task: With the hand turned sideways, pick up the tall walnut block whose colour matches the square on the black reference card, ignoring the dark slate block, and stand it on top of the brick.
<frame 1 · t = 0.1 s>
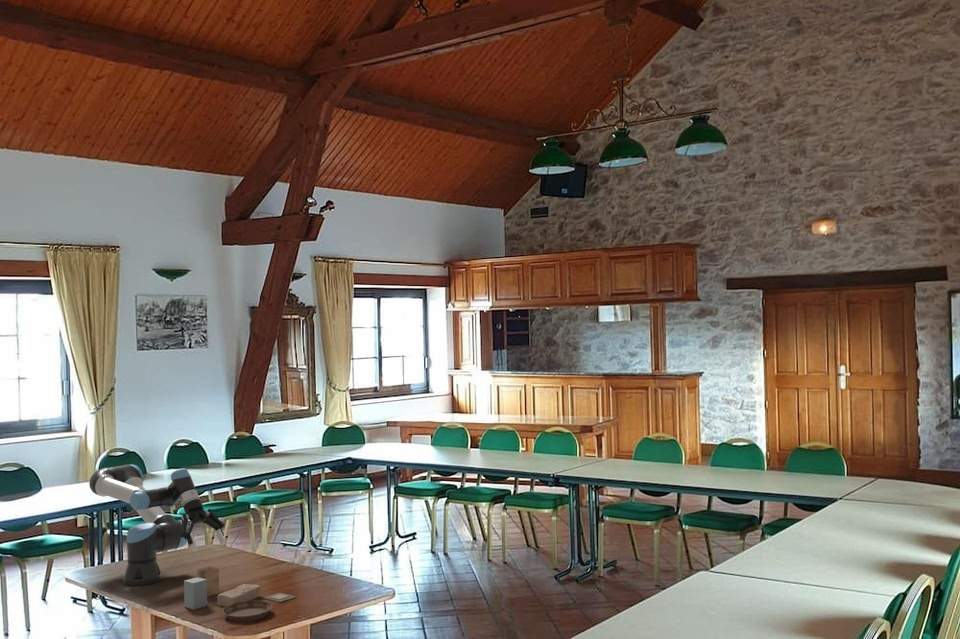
hand: (210, 547, 381), 15 cm above the table, fingers open, 13 cm apart
plant saucer: (247, 616, 338), on the table
brick: (239, 601, 357), on the table
walnut block: (208, 593, 367), on the table
slate block: (195, 606, 350), on the table
reference card: (279, 598, 359), on the table
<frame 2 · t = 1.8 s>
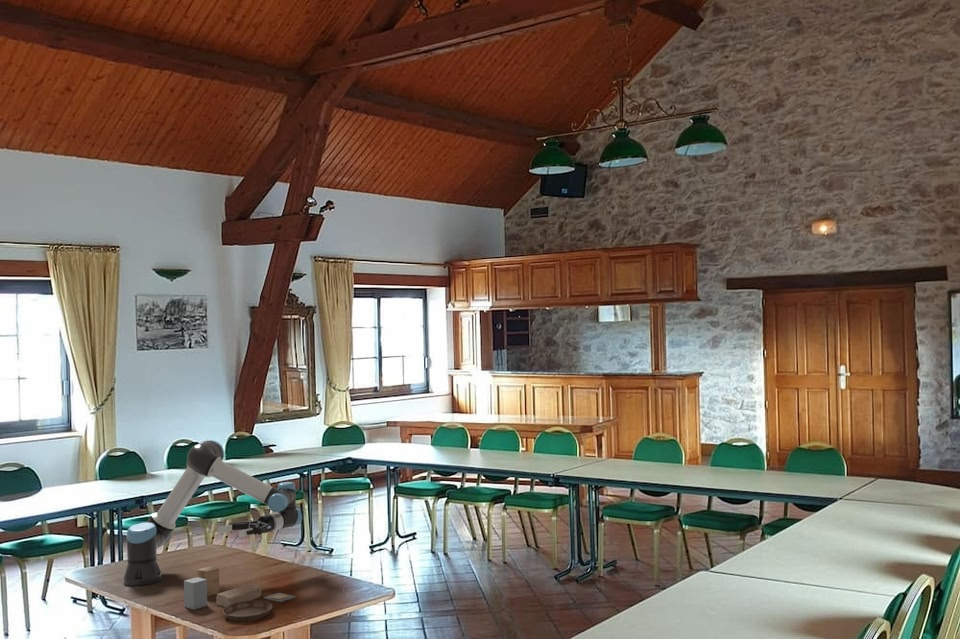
hand: (228, 532, 375), 22 cm above the table, fingers open, 13 cm apart
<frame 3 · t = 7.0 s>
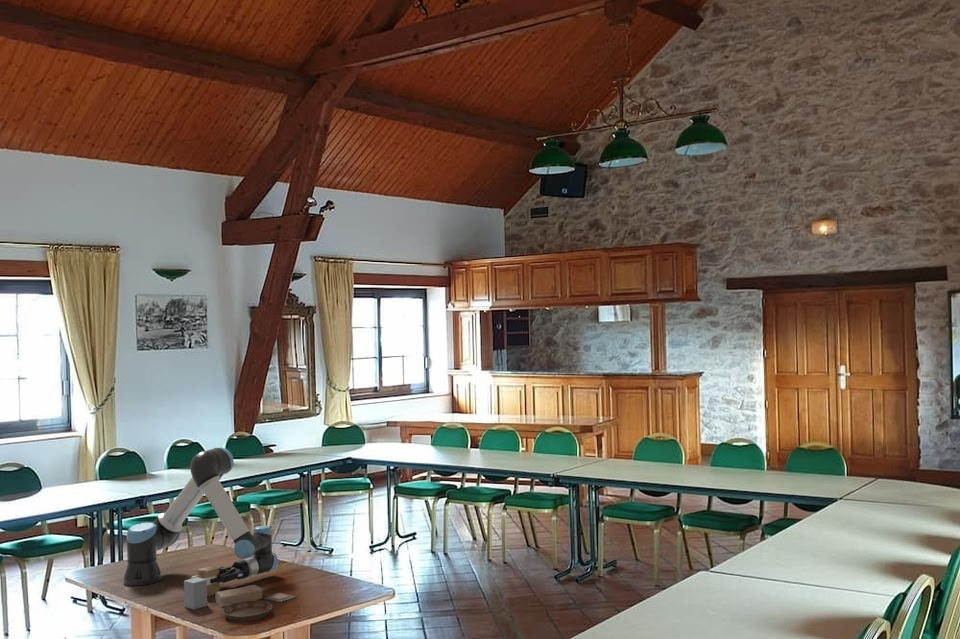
hand: (197, 581, 363), 6 cm above the table, fingers closed on walnut block, 6 cm apart
walnut block: (208, 593, 367), on the table, touching gripper
when the fingers open (12 cm above the table, at t = 11.8 s): walnut block drops 2 cm, resting on brick.
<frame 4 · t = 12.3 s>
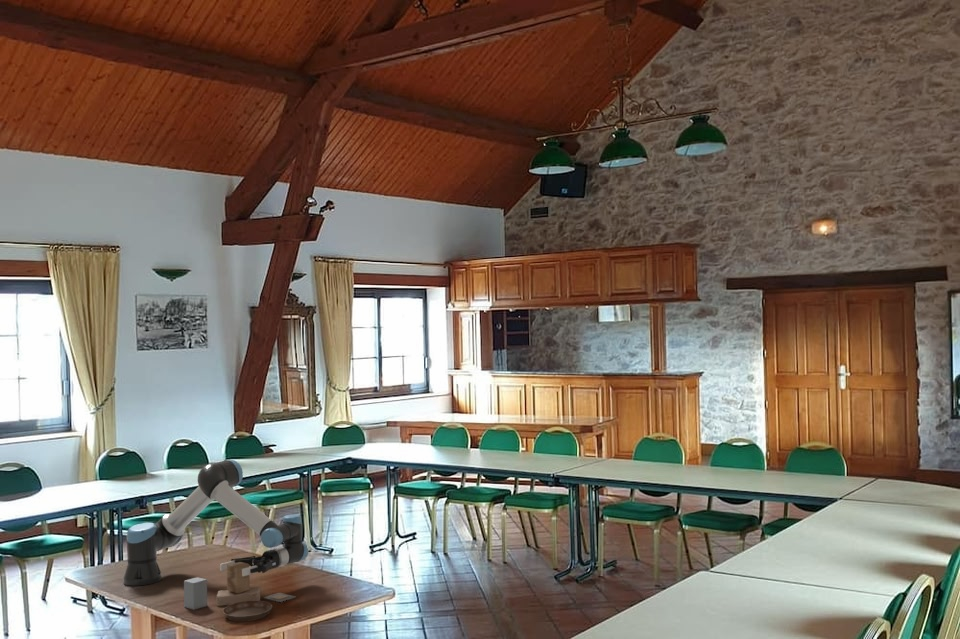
hand: (231, 570, 354), 12 cm above the table, fingers open, 13 cm apart
brick: (238, 603, 356), on the table, touching walnut block
walnut block: (238, 590, 356), point 4 cm above the table, touching brick
everything else where it was.
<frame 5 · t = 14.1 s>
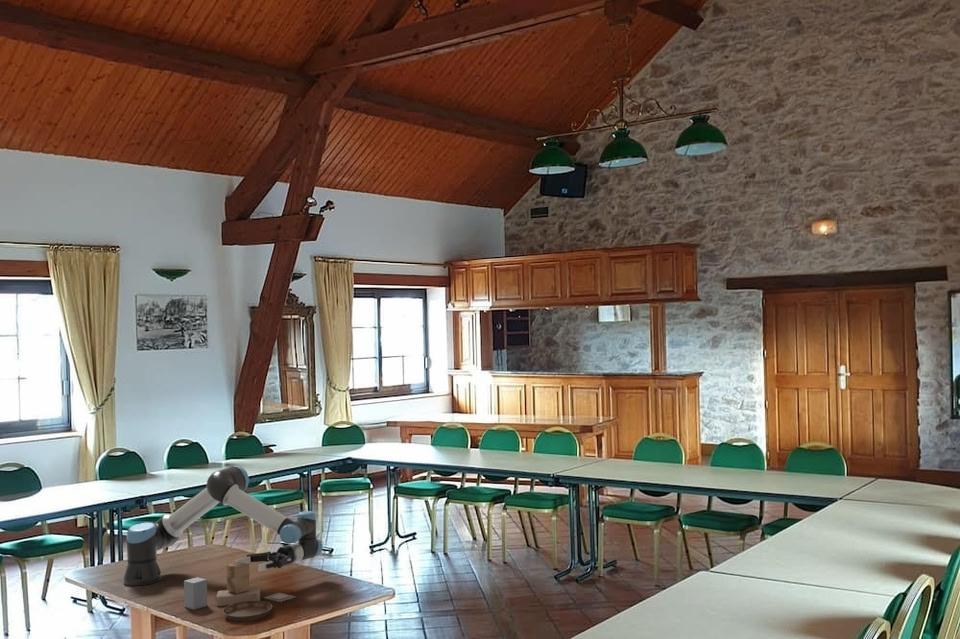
hand: (247, 565, 360), 13 cm above the table, fingers open, 13 cm apart
nothing on the table moved.
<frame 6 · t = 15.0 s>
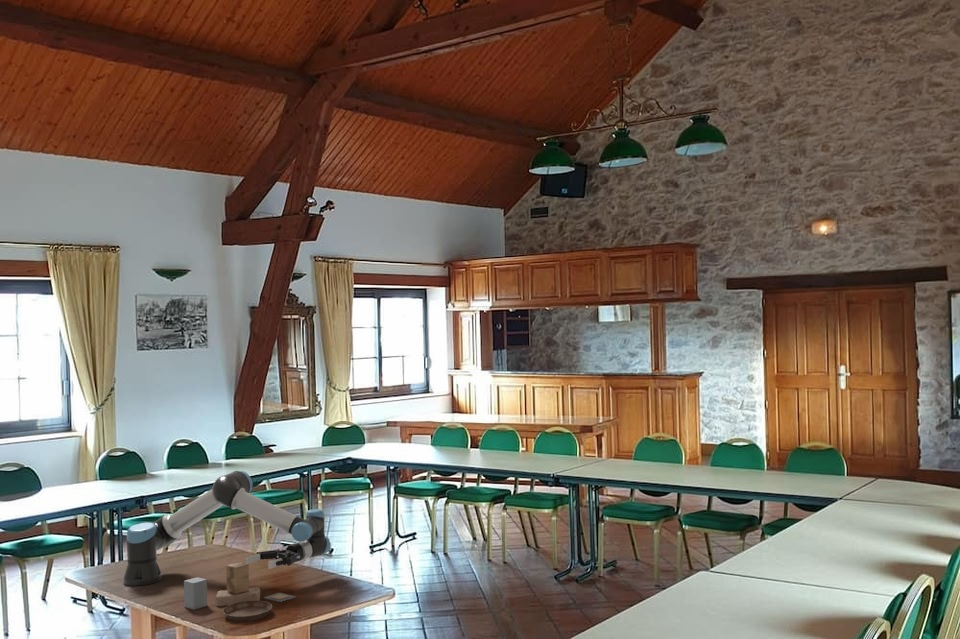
hand: (257, 562, 364), 13 cm above the table, fingers open, 13 cm apart
nothing on the table moved.
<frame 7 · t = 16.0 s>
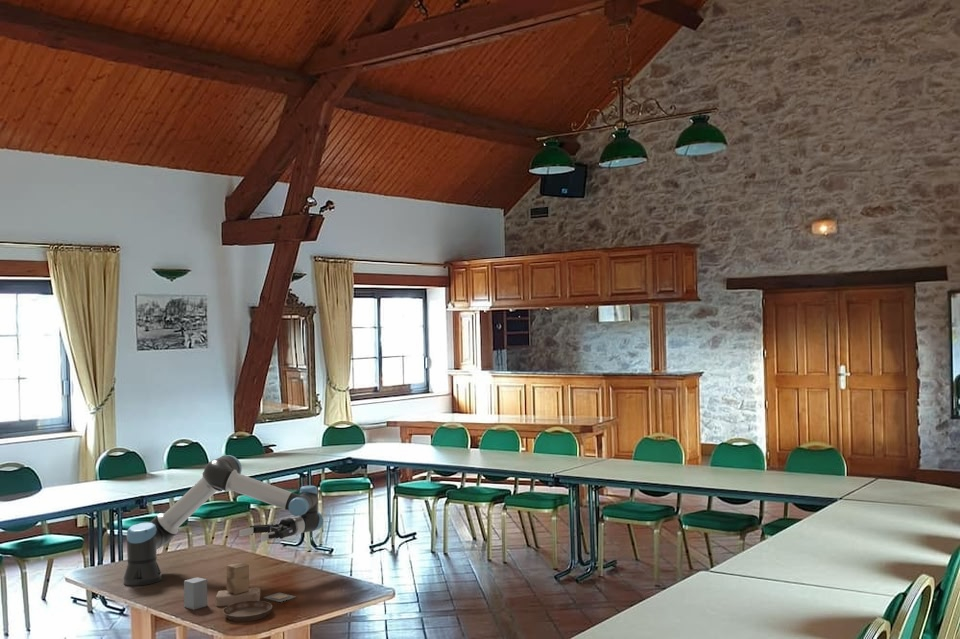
hand: (250, 535, 372), 22 cm above the table, fingers open, 13 cm apart
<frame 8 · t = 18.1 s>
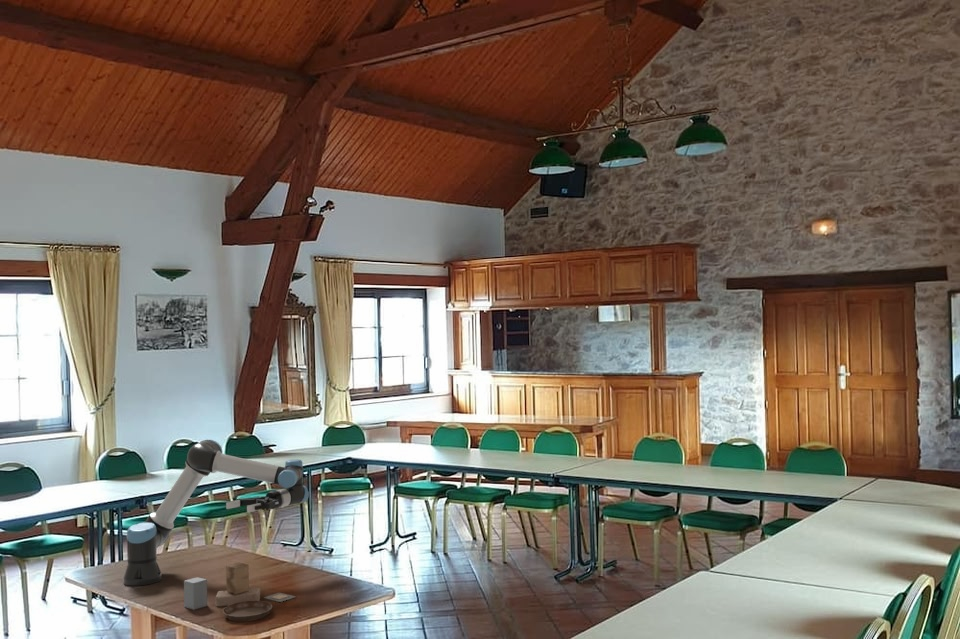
hand: (236, 507, 379), 32 cm above the table, fingers open, 13 cm apart
at the end: walnut block inside the target area on the brick (0.4 cm from its centre), point 4.8 cm above the brick's base; walnut block tilted 0°; the gripper is holding nothing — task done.
